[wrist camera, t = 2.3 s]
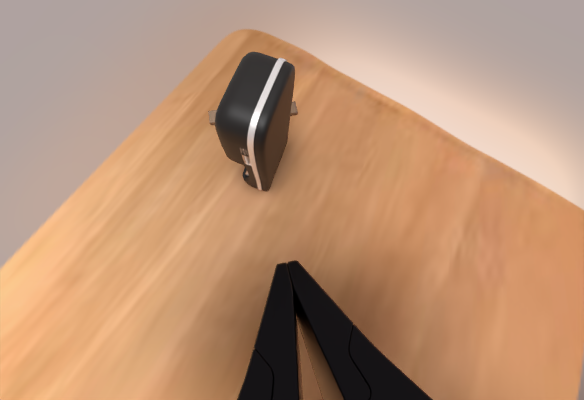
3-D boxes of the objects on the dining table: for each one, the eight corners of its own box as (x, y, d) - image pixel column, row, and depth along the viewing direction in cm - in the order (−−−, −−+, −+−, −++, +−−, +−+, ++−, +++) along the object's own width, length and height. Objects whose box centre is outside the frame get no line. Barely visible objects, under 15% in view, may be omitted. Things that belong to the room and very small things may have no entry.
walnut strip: (294, 103, 27) (295, 101, 26) (297, 114, 26) (297, 112, 26) (209, 113, 26) (208, 111, 25) (210, 124, 25) (209, 122, 25)
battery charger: (257, 128, 26) (243, 30, 14) (288, 139, 25) (299, 49, 14) (233, 183, 24) (198, 119, 13) (267, 195, 24) (261, 140, 13)
